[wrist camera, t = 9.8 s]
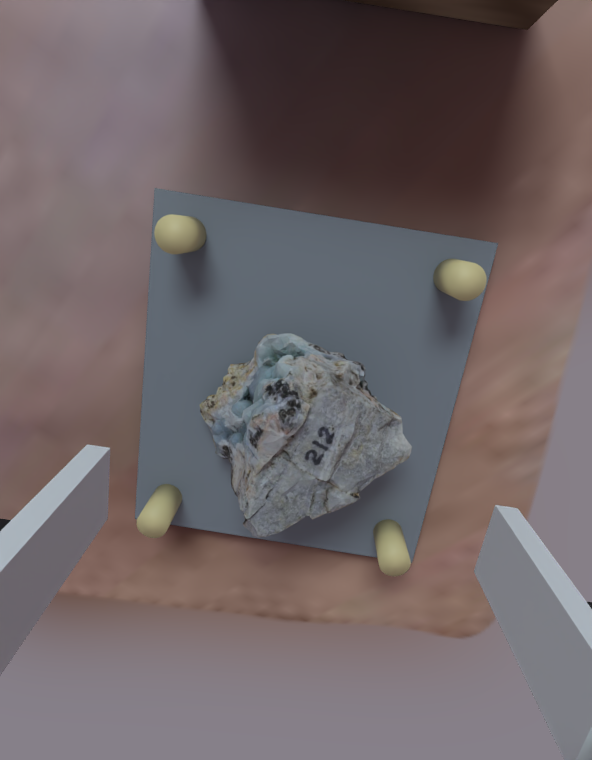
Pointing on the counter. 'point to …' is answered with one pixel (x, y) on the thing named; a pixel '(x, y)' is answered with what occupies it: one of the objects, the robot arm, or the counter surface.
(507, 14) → the panel
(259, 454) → the mineral specimen
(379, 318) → the base
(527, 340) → the counter surface
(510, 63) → the counter surface
